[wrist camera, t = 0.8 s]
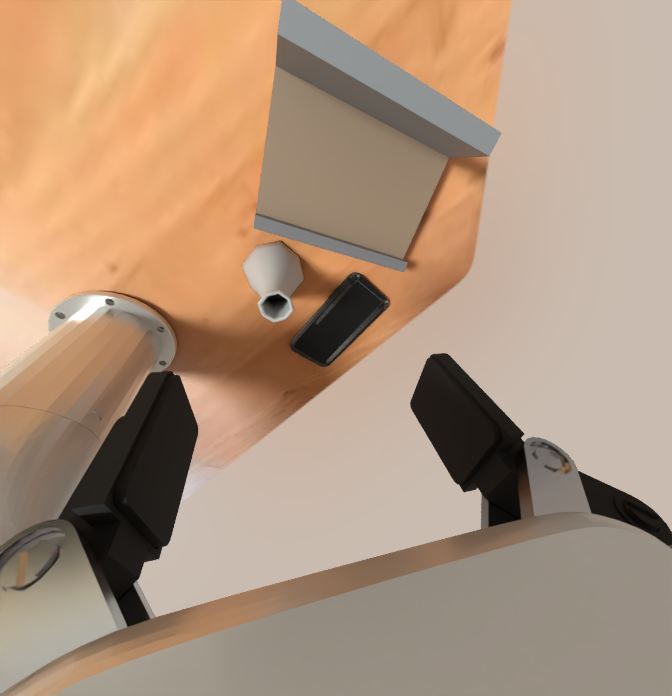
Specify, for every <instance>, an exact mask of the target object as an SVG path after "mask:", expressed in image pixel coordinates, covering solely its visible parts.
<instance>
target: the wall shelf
mask: <svg viewBox="0 0 672 696" xmlns="http://www.w3.org/2000/svg"><path fill="white" fill-rule="evenodd" d="M500 135H501V132H499V131H498V130H496V129H495V128H493V127H491V126H490V125H488V124H487V123H485V122H484V121H482V120H481V119H479V118H477V117H476V116H474V115H473V114H471V113H470V112H468V111H466V110H465V109H463V108H462V107H460V106H459V105H457V104H456V103H454V102H452V101H451V100H449V99H448V98H446V97H445V96H443V95H442V94H440V93H438V92H437V91H435V90H434V89H432V88H431V87H429V86H427V85H426V84H424V83H423V82H421V81H420V80H418V79H417V78H415V77H413V76H412V75H410V74H409V73H407V72H406V71H404V70H403V69H401V68H399V67H398V66H396V65H395V64H393V63H392V62H390V61H389V60H387V59H385V58H384V57H382V56H381V55H379V54H378V53H376V52H374V51H373V50H371V49H370V48H368V47H367V46H365V45H364V44H362V43H360V42H359V41H357V40H356V39H354V38H353V37H351V36H350V35H348V34H346V33H345V32H343V31H342V30H340V29H339V28H337V27H336V26H334V25H332V24H331V23H329V22H328V21H326V20H325V19H323V18H321V17H320V16H318V15H317V14H315V13H314V12H312V11H311V10H309V9H307V8H306V7H304V6H303V5H301V4H300V3H298V2H297V1H295V0H282V5H281V13H280V20H279V28H278V38H277V54H276V68H275V75H274V82H273V90H272V97H271V105H270V112H269V120H268V127H267V135H266V142H265V150H264V157H263V165H262V172H261V179H260V187H259V194H258V202H257V209H256V215H255V222H254V228H255V229H258V230H262V231H265V232H269V233H272V234H275V235H279V236H282V237H286V238H289V239H292V240H296V241H299V242H303V243H306V244H309V245H313V246H316V247H320V248H323V249H326V250H330V251H333V252H337V253H340V254H343V255H347V256H350V257H354V258H357V259H360V260H364V261H367V262H371V263H374V264H377V265H381V266H384V267H388V268H391V269H394V270H398V271H401V272H404V271H405V269H406V266H407V264H408V262H406V261H405V260H403V258H404V256H405V254H406V251H407V249H408V247H409V245H410V243H411V241H412V238H413V236H414V234H415V232H416V230H417V227H418V225H419V223H420V221H421V219H422V216H423V214H424V212H425V210H426V208H427V206H428V203H429V201H430V199H431V197H432V195H433V192H434V190H435V188H436V186H437V184H438V181H439V179H440V177H441V175H442V173H443V171H444V168H445V166H446V164H447V162H448V160H449V158H458V157H483V156H490V154H491V152H492V150H493V148H494V146H495V144H496V143H497V141H498V138H499V137H500Z"/></svg>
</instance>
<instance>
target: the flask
mask: <svg viewBox="0 0 672 696" xmlns="http://www.w3.org/2000/svg"><path fill="white" fill-rule="evenodd" d="M242 267H243V270H244V272H245V274H246V277H247V279H248V282H249V284H250V287H251V288H252V289H253V290H254V291H255V292H256V293H258V294H259V296H260V297H261V299H260V300H259V302H258V303H257V304H258V307H259V309H260V312H261V314H262V316H263V317H265V318H266V319H268V320H270V321H271V322H273V323H275V322H279V321H283V320H286V319H287V318H288V317H289V316H290V315H291V313H292V312H293V311H294V307H293V304H292V301H291V295H292V293H293V292H294V291H295V290H296V288H297V287H298V286H299V285H300V284H301V283H302V281H303V280H304V275H303V271H302V267H301V263H300V259H299V256H298V255H296V254H295V253H294V252H293V251H292V250H290V249H289V248H288V247H287V246H286V245H284V244H283V243H282V242H281V241H275V242H271V243H267V244H262V245H258V246H255V247H254V249H253V250H252V252H251V253H250V254H249V256H248V257H247V259H246V260H245V261H244V263H243V264H242Z"/></svg>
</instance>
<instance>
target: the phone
mask: <svg viewBox="0 0 672 696" xmlns="http://www.w3.org/2000/svg"><path fill="white" fill-rule="evenodd" d="M387 306H388V300H387V299H386V298H385V297H384V296H383V295H382V294H381V293H380V292H379V291H378V290H377V289H376V288H375V287H374V286H372V285H371V284H370V283H369V282H368V281H367V280H366V279H365V278H364V277H363V276H362V275H361V274H359V273H356V272H355V273H351V274H350V275H349V276H348V277H347V278H346V279H345V280H344V281H343V282H342V284H341V285H340V286H339V287H338V288H337V289H336V290H335V291H334V293H332V294H331V296H330V297H329V298H328V299H327V301H326V302H325V303H324V304H323V305H322V306H321V307H320V308H319V310H318V311H317V312H316V313H315V314H314V315H313V316H312V317H311V319H310V320H309V321H308V322H307V323H306V324H305V325H304V327H303V328H302V329H301V330H300V331H299V332H298V333H297V334H296V336H295V337H294V338H293V339H292V340H291V342H290V346H291V349H292V350H293V351H294V352H296V353H298V354H299V355H301V356H303V357H305V358H307V359H308V360H310V361H312V362H314V363H316V364H318V365H319V366H322V367H326V366H329V365H330V364H331V363H332V362H333V361H334V360H335V359H336V358H337V357H338V356H339V355H340V354H341V353H342V352H343V351H344V350H345V349H346V348H347V347H348V346H349V345H350V344H351V343H352V342H353V341H354V340H355V339H356V338H357V337H358V336H359V335H360V334H361V333H362V332H363V331H364V330H365V329H366V328H367V327H368V326H369V325H370V324H371V323H372V322H373V321H374V320H375V319H376V318H377V317H378V316H379V315H380V314H381V313H382V312H383V311H384V310H385V309H386V308H387Z"/></svg>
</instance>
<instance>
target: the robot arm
mask: <svg viewBox="0 0 672 696" xmlns="http://www.w3.org/2000/svg"><path fill="white" fill-rule="evenodd" d="M48 329H49V332H50V333H49V334H48V335H46V336H45V337H44V338H42V339H41V340H40V341H38V342H37V343H36V344H34V345H33V346H32V347H30V348H29V349H28V350H27V351H25V352H24V353H23V354H21V355H20V356H19V357H17V358H16V359H15V360H13V361H12V362H11V363H10V364H8V365H7V366H6V367H4V368H3V369H2V370H0V696H672V532H671V531H670V529H669V527H668V526H667V524H666V523H665V522H664V521H663V520H662V518H661V517H660V516H659V515H658V514H657V513H656V512H655V511H654V510H653V509H651V508H650V507H649V506H647V505H646V504H644V503H643V502H642V501H640V500H638V499H637V498H635V497H633V496H631V495H629V494H627V493H625V492H623V491H620V490H618V489H616V488H614V487H612V486H610V485H607V484H605V483H603V482H601V481H599V480H597V479H594V478H592V477H590V476H588V475H586V474H584V473H582V472H580V471H578V470H577V467H576V465H575V463H574V461H573V460H572V459H571V458H570V457H569V455H568V454H567V453H565V452H564V451H563V450H562V449H561V448H559V447H558V446H556V445H555V444H553V443H551V442H549V441H547V440H545V439H541V438H536V437H531V438H528V439H527V440H526V441H525V442H524V441H523V440H522V439H521V437H522V436H523V435H524V433H523V432H522V431H521V430H520V429H519V428H518V427H517V426H516V425H515V424H514V422H513V421H511V419H510V418H509V417H508V416H507V415H506V414H505V413H504V412H503V411H502V410H501V409H500V408H499V407H498V406H497V405H496V404H495V403H494V402H493V401H492V399H491V398H490V397H489V396H488V395H487V394H486V393H485V392H484V391H483V390H482V389H481V388H480V387H479V386H478V385H477V384H476V383H475V382H474V381H473V380H472V379H471V378H470V377H469V375H468V374H467V373H466V372H465V371H464V370H463V369H462V368H461V367H460V366H459V365H458V364H457V363H456V362H455V361H454V360H453V359H452V358H451V357H450V356H449V355H448V354H445V353H442V354H433V355H431V356H430V358H428V359H427V361H426V364H425V366H424V369H423V371H422V374H421V376H420V379H419V381H418V384H417V386H416V389H415V392H414V394H413V397H412V399H411V403H410V404H411V409H412V411H413V412H414V414H415V416H416V418H417V419H418V421H419V423H420V424H421V426H422V428H423V429H424V431H425V432H426V435H427V436H428V438H429V440H430V441H431V443H432V445H433V446H434V448H435V449H436V451H437V453H438V455H439V457H440V458H441V460H442V462H443V463H444V465H445V467H446V468H447V470H448V472H449V473H450V475H451V477H452V479H453V480H454V481H455V482H456V483H457V484H459V485H460V487H461V488H462V490H463V492H467V491H472V490H476V489H477V488H479V490H480V492H481V493H482V503H481V529H480V530H477V531H473V532H469V533H465V534H461V535H458V536H453V537H450V538H446V539H442V540H438V541H434V542H431V543H427V544H423V545H419V546H415V547H411V548H408V549H404V550H400V551H396V552H392V553H389V554H385V555H381V556H377V557H374V558H370V559H366V560H362V561H359V562H355V563H351V564H347V565H343V566H340V567H336V568H332V569H328V570H325V571H321V572H317V573H313V574H310V575H306V576H302V577H299V578H295V579H291V580H288V581H284V582H280V583H276V584H273V585H269V586H265V587H261V588H258V589H254V590H250V591H247V592H243V593H240V594H236V595H232V596H228V597H225V598H221V599H218V600H214V601H211V602H208V603H204V604H201V605H198V606H194V607H190V608H187V609H183V610H180V611H177V612H173V613H170V614H166V615H163V616H159V617H155V615H154V613H153V612H152V610H151V607H150V605H149V604H148V602H147V600H146V598H145V596H144V594H143V592H142V590H141V588H140V586H139V584H138V582H137V580H138V579H139V577H140V574H141V570H142V567H143V564H144V562H147V561H152V560H156V559H159V557H160V553H161V550H162V547H163V546H167V545H168V543H169V541H170V538H171V535H172V531H173V528H174V524H175V520H176V516H177V513H178V509H179V505H180V501H181V497H182V493H183V490H184V486H185V482H186V478H187V474H188V470H189V467H190V463H191V459H192V455H193V451H194V447H195V444H196V440H197V436H198V425H197V422H196V419H195V417H194V414H193V411H192V409H191V406H190V403H189V400H188V398H187V395H186V392H185V389H184V387H183V384H182V381H181V378H180V376H179V375H174V374H173V372H172V371H165V372H162V371H163V370H164V369H166V368H167V367H168V366H169V365H170V363H171V362H172V361H173V359H174V357H175V354H176V351H177V340H176V336H175V333H174V331H173V329H172V328H171V326H170V325H169V323H168V322H167V321H166V320H165V319H164V318H163V317H162V316H161V315H160V314H159V313H158V312H157V311H155V310H154V309H152V308H151V307H149V306H148V305H146V304H144V303H142V302H140V301H138V300H136V299H134V298H131V297H128V296H125V295H122V294H117V293H112V292H103V291H91V292H83V293H79V294H75V295H72V296H70V297H69V298H67V299H65V300H63V301H62V302H61V303H59V304H58V305H56V306H55V308H54V309H53V310H52V311H51V313H50V316H49V320H48Z"/></svg>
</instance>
